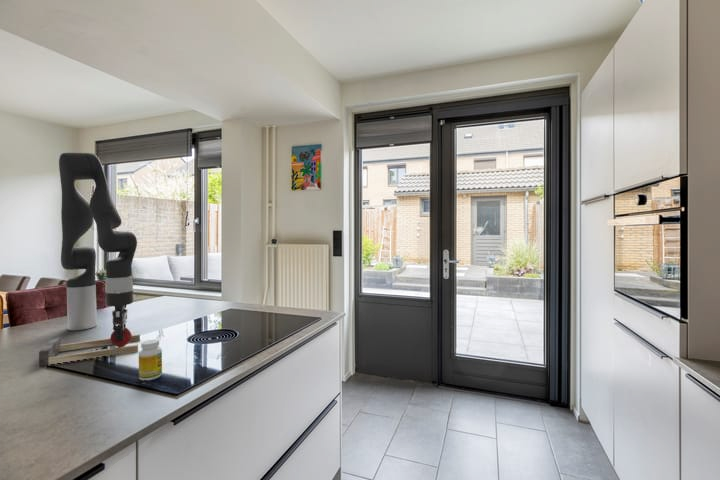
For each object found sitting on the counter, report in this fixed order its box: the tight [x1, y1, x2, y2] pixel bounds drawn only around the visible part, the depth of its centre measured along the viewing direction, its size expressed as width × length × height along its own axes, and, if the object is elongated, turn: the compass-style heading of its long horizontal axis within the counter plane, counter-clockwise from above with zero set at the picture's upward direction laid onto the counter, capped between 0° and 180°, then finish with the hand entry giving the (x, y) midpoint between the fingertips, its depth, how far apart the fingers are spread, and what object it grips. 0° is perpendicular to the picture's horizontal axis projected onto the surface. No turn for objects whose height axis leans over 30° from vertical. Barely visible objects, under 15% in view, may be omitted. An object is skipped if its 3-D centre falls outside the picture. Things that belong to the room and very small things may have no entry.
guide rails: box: [38, 333, 141, 368], centre depth 110 cm, size 14×24×4 cm, turn 121°
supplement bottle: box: [138, 339, 163, 381], centre depth 91 cm, size 5×5×10 cm
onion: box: [109, 324, 133, 348], centre depth 114 cm, size 6×6×8 cm
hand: (120, 338), depth 114 cm, fingers open, 8 cm apart
